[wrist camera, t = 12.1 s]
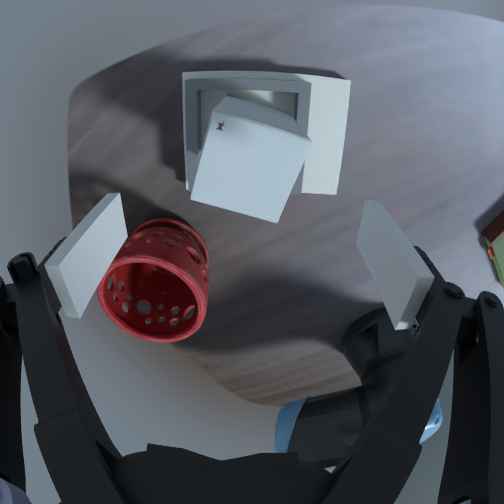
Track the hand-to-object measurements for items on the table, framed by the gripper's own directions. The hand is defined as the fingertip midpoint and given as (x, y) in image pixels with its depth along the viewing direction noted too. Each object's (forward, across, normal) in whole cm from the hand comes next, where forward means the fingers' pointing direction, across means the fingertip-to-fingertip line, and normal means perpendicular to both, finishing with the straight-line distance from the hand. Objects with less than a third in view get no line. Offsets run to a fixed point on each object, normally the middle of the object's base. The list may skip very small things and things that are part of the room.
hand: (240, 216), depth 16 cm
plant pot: (+21, +10, +16) cm, 29 cm away
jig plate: (+21, -2, 0) cm, 21 cm away
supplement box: (+20, 0, 0) cm, 20 cm away
